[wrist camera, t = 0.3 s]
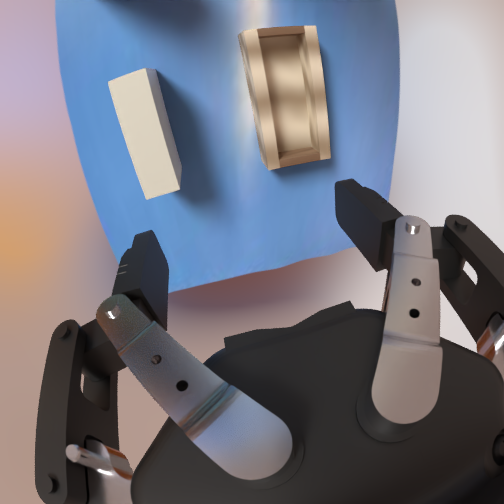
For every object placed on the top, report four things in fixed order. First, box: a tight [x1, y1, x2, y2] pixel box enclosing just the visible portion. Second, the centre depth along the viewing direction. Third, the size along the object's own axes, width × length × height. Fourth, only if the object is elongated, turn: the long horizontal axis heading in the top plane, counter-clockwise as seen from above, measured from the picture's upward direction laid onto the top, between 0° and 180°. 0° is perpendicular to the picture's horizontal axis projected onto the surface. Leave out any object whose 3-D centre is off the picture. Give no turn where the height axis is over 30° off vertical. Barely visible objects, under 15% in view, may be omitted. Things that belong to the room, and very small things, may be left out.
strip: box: [108, 68, 182, 200], centre depth 28 cm, size 14×4×8 cm, turn 10°
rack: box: [238, 26, 331, 170], centre depth 30 cm, size 18×9×4 cm, turn 10°
